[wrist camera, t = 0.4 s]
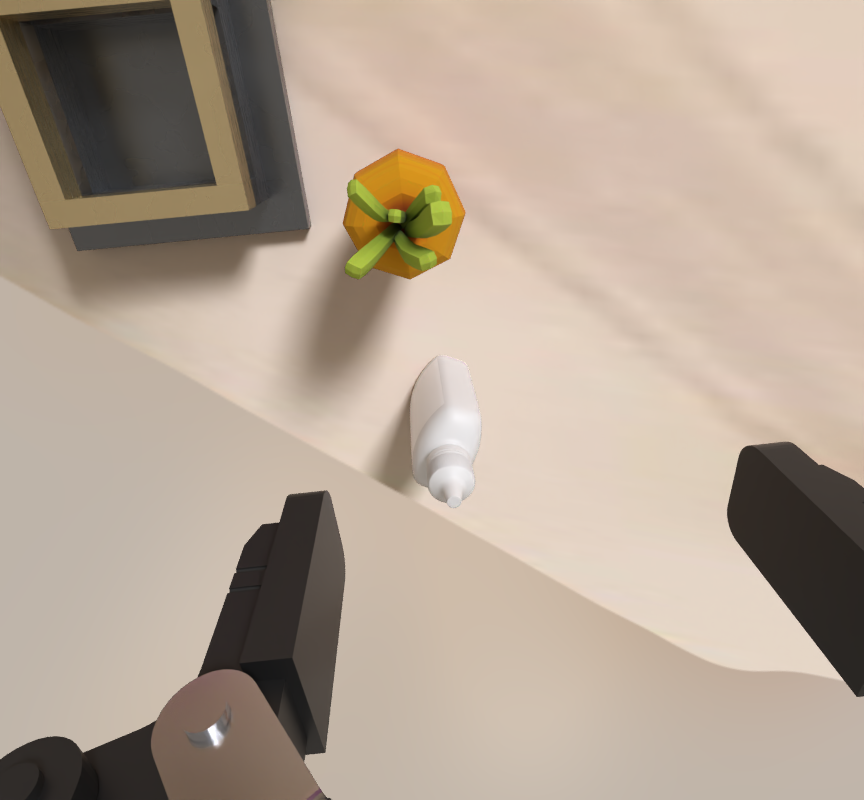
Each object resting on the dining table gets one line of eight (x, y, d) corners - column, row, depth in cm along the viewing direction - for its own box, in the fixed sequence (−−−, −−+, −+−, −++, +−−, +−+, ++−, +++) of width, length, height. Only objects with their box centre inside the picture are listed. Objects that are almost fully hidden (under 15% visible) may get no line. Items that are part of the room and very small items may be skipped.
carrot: (365, 237, 32) (340, 323, 18) (352, 144, 29) (313, 165, 16) (449, 230, 32) (485, 310, 18) (443, 136, 29) (479, 150, 16)
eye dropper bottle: (385, 393, 36) (380, 506, 26) (449, 342, 35) (471, 440, 24) (427, 434, 38) (438, 556, 27) (490, 387, 37) (527, 497, 26)
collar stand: (-21, -37, 25) (-123, -75, 20) (258, -63, 25) (224, -106, 20) (86, 247, 31) (28, 271, 26) (311, 225, 31) (294, 245, 26)
